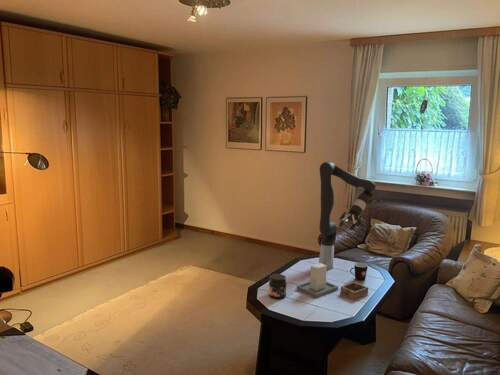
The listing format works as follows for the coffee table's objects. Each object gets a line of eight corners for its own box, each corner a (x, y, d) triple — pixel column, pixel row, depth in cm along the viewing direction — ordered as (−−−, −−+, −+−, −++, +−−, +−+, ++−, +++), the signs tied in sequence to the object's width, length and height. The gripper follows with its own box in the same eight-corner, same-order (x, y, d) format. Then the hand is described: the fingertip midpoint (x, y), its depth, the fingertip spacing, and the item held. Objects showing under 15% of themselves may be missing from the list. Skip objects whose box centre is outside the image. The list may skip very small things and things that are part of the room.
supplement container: (265, 296, 240) (265, 277, 238) (274, 290, 249) (275, 272, 247) (280, 301, 234) (281, 281, 232) (289, 295, 243) (290, 276, 241)
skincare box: (319, 284, 256) (320, 262, 253) (326, 288, 251) (327, 265, 248) (309, 287, 251) (310, 264, 249) (316, 291, 246) (317, 267, 244)
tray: (296, 289, 251) (296, 285, 251) (318, 281, 264) (318, 278, 263) (315, 298, 239) (316, 294, 239) (337, 289, 251) (338, 286, 251)
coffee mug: (365, 277, 272) (366, 262, 270) (368, 282, 264) (369, 267, 262) (348, 276, 273) (348, 262, 272) (349, 281, 265) (350, 266, 263)
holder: (340, 293, 246) (340, 286, 245) (353, 288, 253) (353, 281, 253) (354, 299, 238) (355, 292, 237) (367, 294, 245) (368, 287, 245)
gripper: (346, 202, 264) (334, 222, 259) (364, 206, 253) (352, 227, 248) (351, 209, 268) (339, 228, 263) (369, 213, 257) (357, 233, 252)
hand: (345, 228), depth 256 cm, fingers open, 8 cm apart
